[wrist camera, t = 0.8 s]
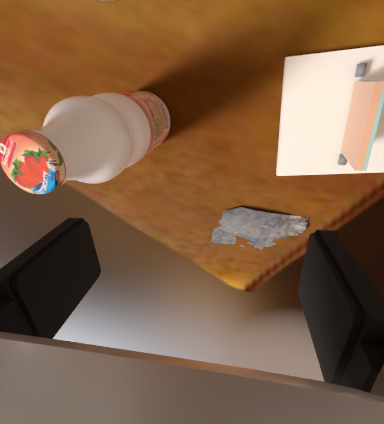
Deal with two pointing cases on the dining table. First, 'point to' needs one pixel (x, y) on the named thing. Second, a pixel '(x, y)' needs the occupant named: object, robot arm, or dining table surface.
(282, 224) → the stone slab
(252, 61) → the dining table surface
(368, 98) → the tile
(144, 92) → the fruit juice
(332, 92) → the board
